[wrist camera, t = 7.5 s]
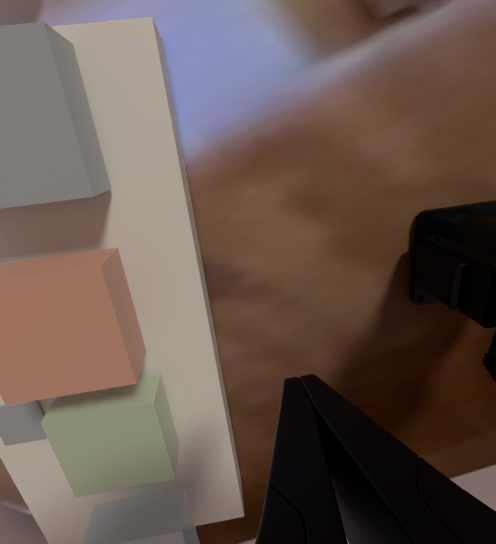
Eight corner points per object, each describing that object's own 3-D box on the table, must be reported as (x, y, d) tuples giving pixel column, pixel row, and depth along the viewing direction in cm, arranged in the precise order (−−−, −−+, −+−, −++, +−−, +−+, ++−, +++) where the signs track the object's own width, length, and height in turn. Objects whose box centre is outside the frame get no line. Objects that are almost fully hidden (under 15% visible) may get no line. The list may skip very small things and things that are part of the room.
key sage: (160, 372, 19) (153, 403, 16) (179, 443, 21) (175, 479, 18) (61, 389, 18) (40, 422, 16) (90, 459, 20) (75, 497, 18)
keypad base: (162, 39, 16) (151, 15, 13) (240, 478, 27) (244, 519, 24) (-145, 71, 15) (-233, 52, 12) (70, 510, 26) (52, 556, 23)
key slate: (72, 43, 13) (43, 21, 10) (111, 189, 15) (93, 196, 12) (-77, 59, 12) (-141, 39, 10) (-16, 205, 14) (-57, 216, 12)
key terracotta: (117, 247, 14) (100, 265, 12) (146, 351, 16) (136, 383, 14) (-13, 265, 14) (-55, 287, 12) (33, 369, 16) (5, 405, 14)
